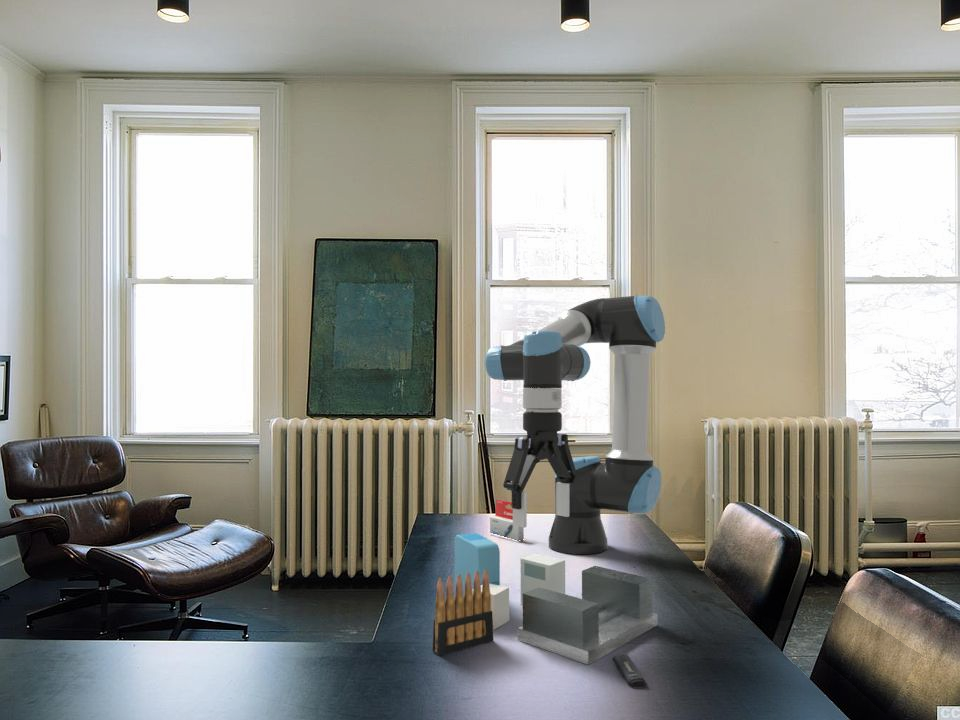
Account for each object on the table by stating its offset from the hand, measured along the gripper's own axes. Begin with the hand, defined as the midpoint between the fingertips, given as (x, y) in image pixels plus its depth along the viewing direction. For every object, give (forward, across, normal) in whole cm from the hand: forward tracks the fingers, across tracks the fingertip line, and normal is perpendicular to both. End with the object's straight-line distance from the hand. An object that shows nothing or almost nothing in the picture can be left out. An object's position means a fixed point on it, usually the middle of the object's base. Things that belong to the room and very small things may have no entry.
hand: (542, 520), depth 128 cm
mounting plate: (+16, -4, -14) cm, 22 cm away
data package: (+17, -6, +12) cm, 21 cm away
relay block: (+17, -12, +2) cm, 21 cm away
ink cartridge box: (+16, +36, +40) cm, 57 cm away
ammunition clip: (+17, -24, -2) cm, 29 cm away
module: (+16, 0, 0) cm, 16 cm away
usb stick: (+17, -14, -27) cm, 35 cm away
